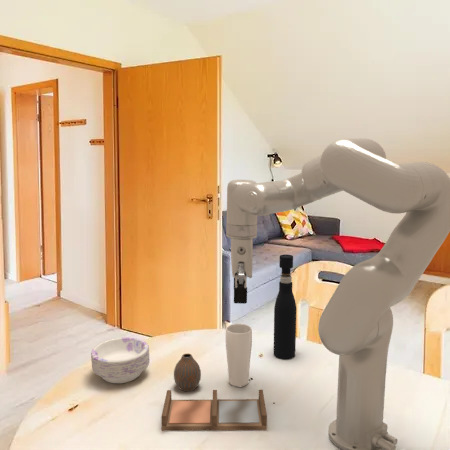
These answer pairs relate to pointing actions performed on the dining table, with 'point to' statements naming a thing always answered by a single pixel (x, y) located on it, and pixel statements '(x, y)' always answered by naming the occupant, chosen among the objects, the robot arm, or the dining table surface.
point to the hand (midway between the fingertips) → (239, 296)
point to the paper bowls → (120, 359)
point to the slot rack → (214, 414)
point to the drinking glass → (238, 353)
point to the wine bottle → (285, 313)
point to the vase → (187, 373)
